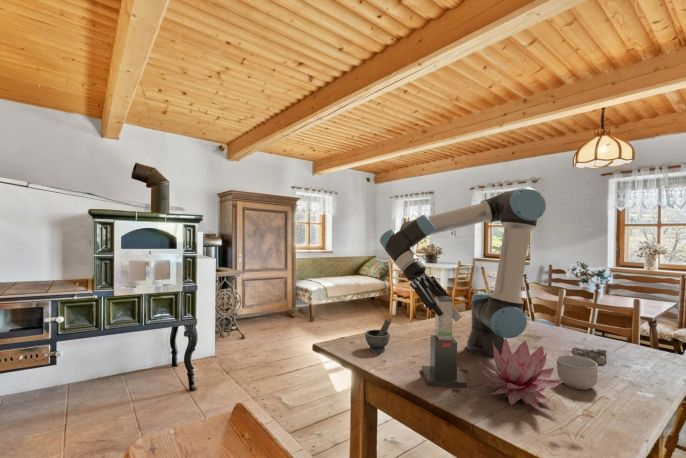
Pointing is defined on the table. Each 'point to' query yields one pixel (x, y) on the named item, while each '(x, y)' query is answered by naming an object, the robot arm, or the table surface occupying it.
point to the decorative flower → (522, 374)
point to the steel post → (440, 329)
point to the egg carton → (591, 354)
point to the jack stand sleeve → (443, 365)
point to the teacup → (577, 371)
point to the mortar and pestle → (378, 338)
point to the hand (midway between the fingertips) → (454, 321)
